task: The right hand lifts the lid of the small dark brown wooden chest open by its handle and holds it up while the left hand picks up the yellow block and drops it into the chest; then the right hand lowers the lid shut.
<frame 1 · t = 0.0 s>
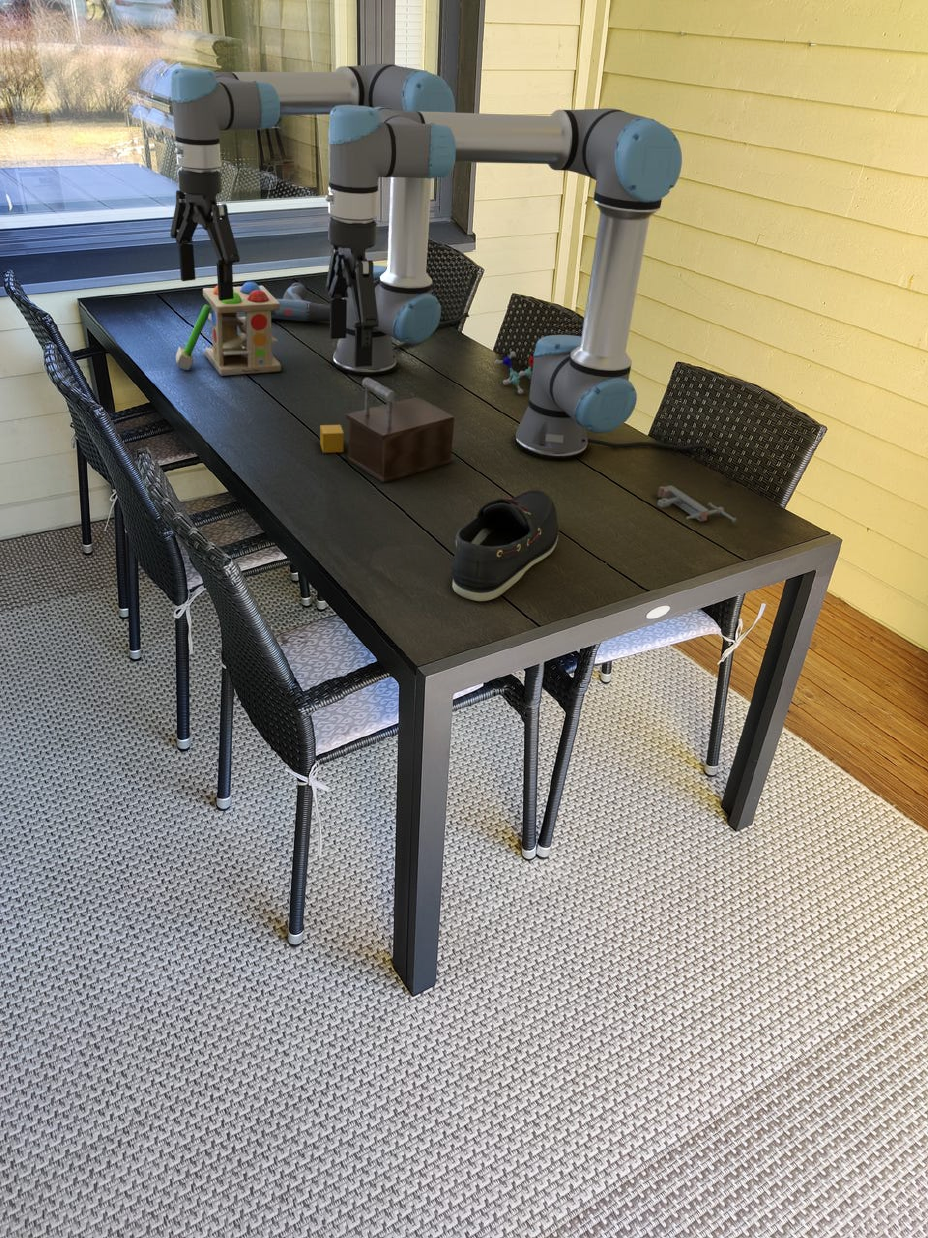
left hand: (206, 289, 186), 28 cm above the table, tool pointing down, fingers open, 13 cm apart
right hand: (350, 351, 164), 28 cm above the table, tool pointing down, fingers open, 13 cm apart
boat shoe: (505, 556, 168), on the table
clamp: (689, 512, 187), on the table
pounding bench toy: (225, 365, 230), on the table
molecular model: (515, 387, 234), on the table
block: (331, 448, 198), on the table
chest: (399, 461, 195), on the table
power drill: (305, 313, 267), on the table
lid: (401, 399, 188), point 13 cm above the table, hinge at -0.1°
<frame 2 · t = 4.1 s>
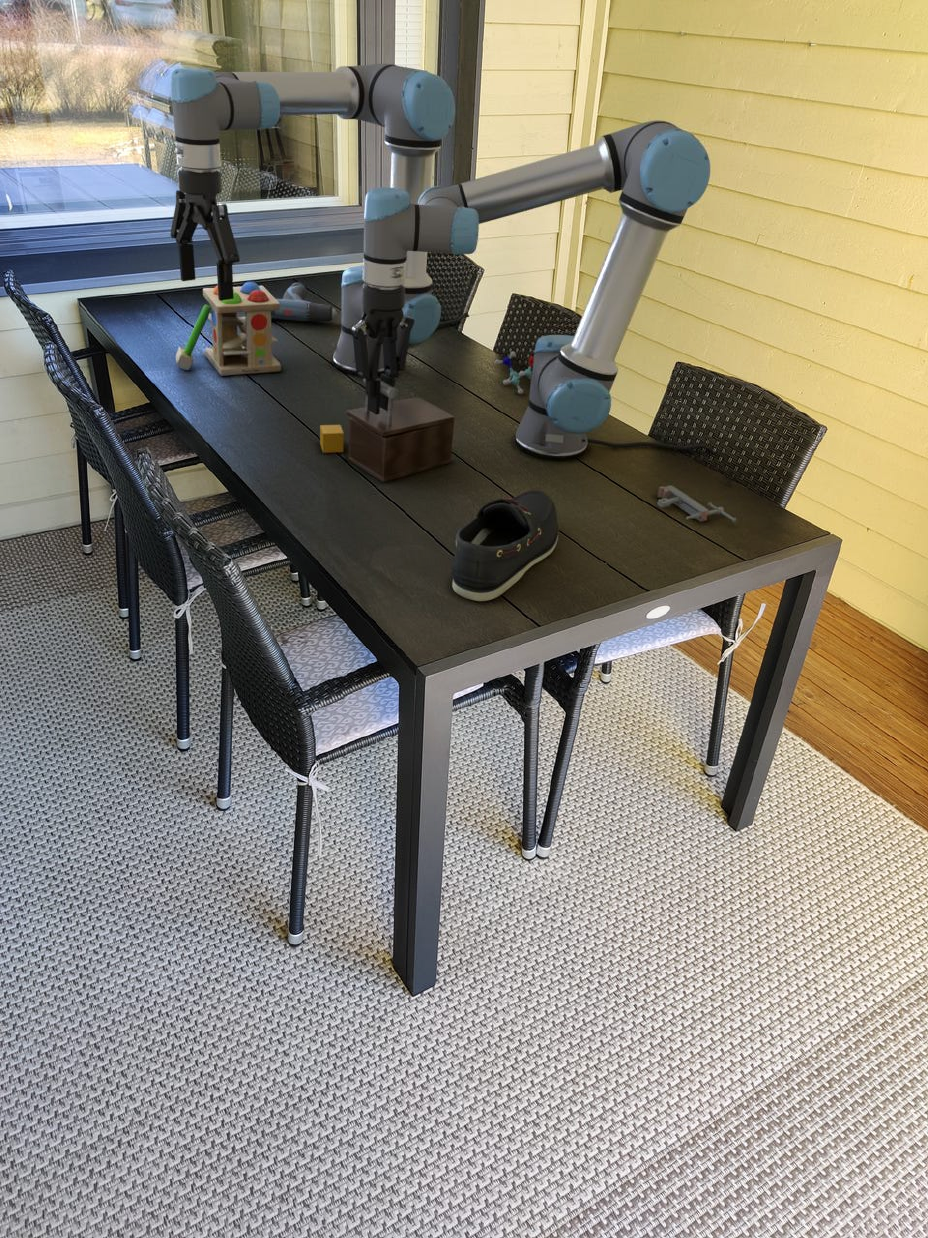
left hand: (206, 289, 186), 28 cm above the table, tool pointing down, fingers open, 13 cm apart
right hand: (379, 409, 185), 12 cm above the table, tool pointing down, fingers closed on lid, 2 cm apart
lid: (402, 397, 188), point 13 cm above the table, hinge at 2.1°, touching right hand
everything else where it was.
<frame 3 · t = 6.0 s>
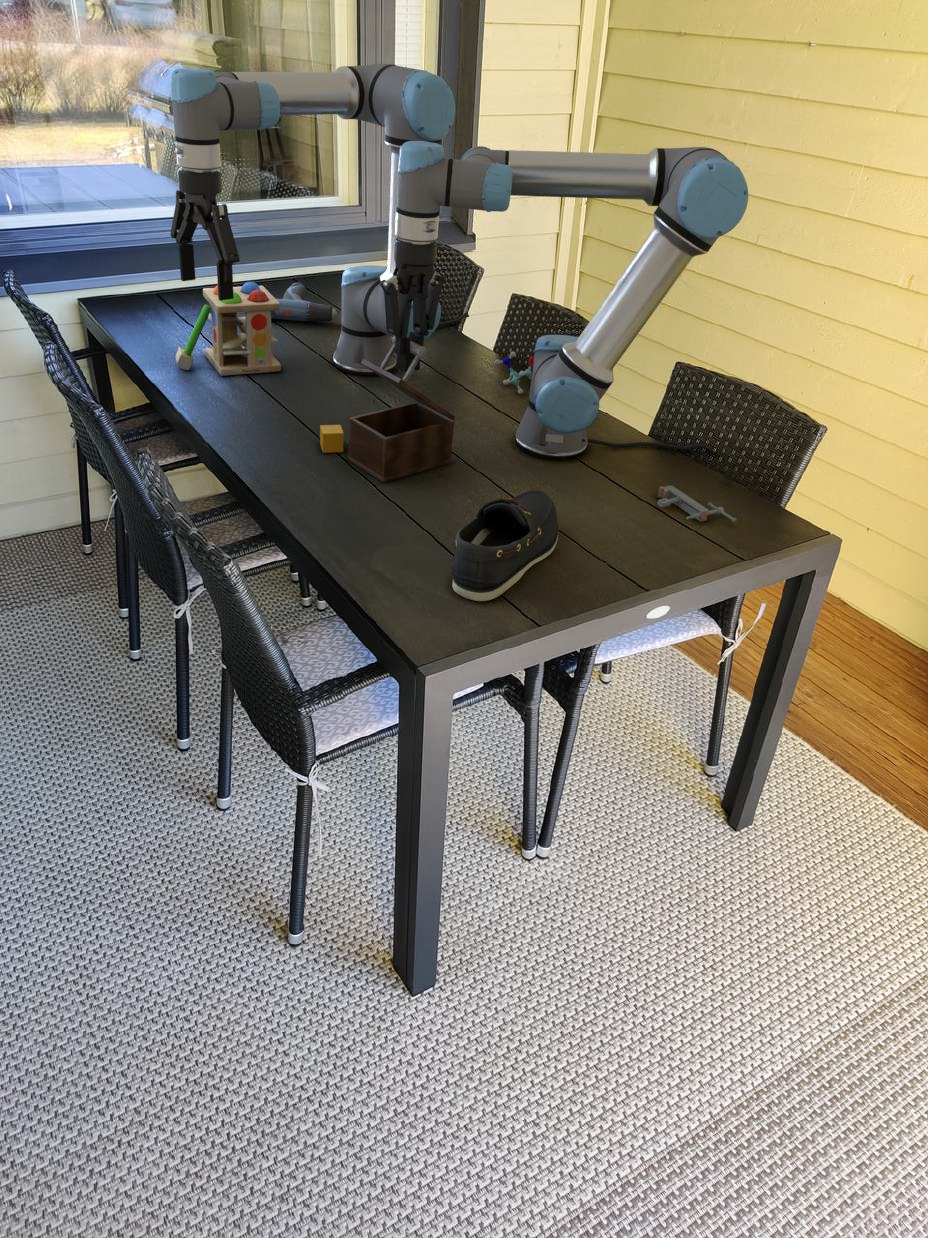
left hand: (206, 289, 186), 28 cm above the table, tool pointing down, fingers open, 13 cm apart
right hand: (407, 368, 185), 19 cm above the table, tool pointing down, fingers closed on lid, 2 cm apart
lid: (418, 373, 188), point 18 cm above the table, hinge at 36.1°, touching right hand
everything else where it was.
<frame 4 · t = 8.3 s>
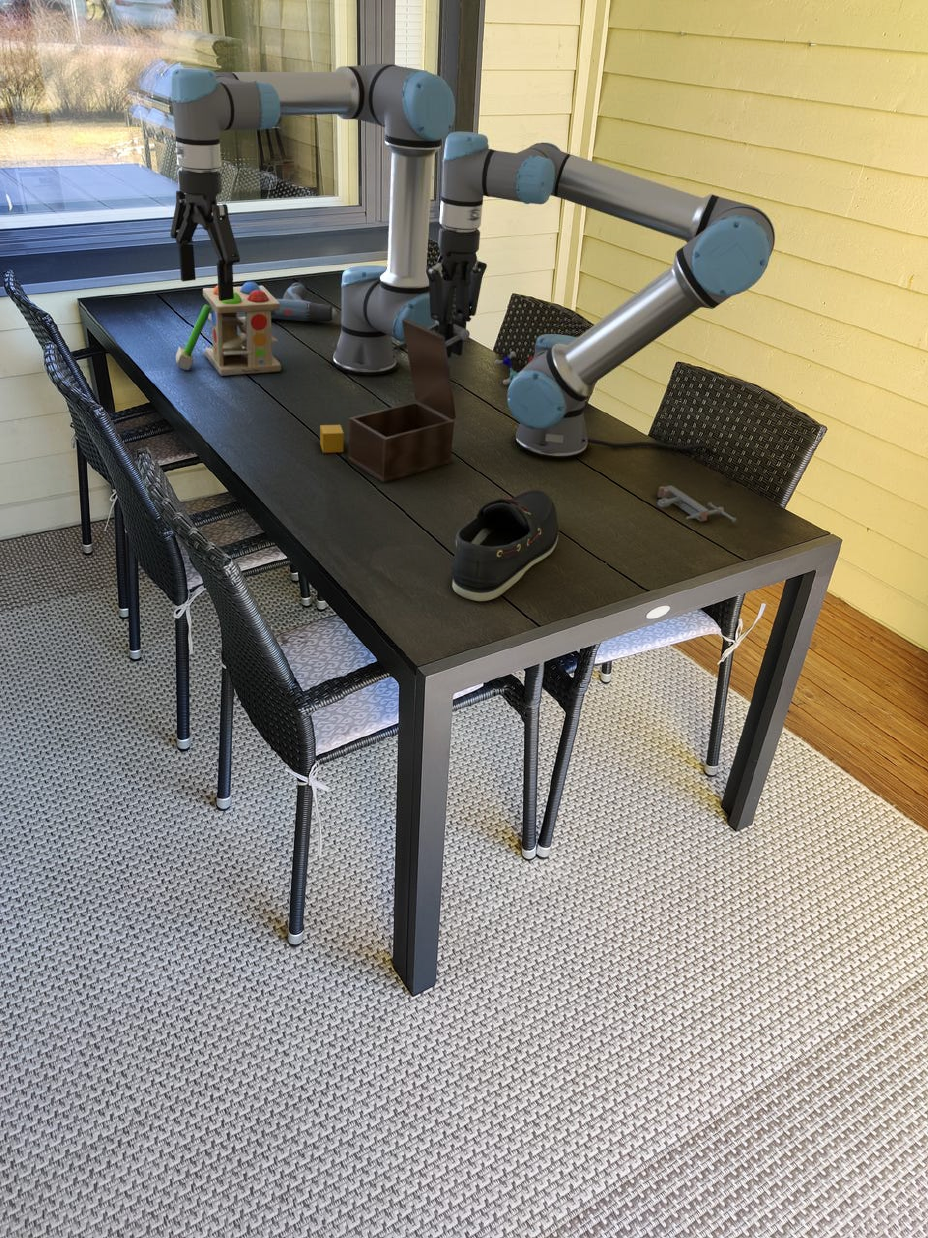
left hand: (207, 289, 186), 28 cm above the table, tool pointing down, fingers open, 13 cm apart
right hand: (450, 353, 191), 20 cm above the table, tool pointing down, fingers closed on lid, 2 cm apart
lid: (443, 361, 190), point 19 cm above the table, hinge at 74.8°, touching right hand
everything else where it was.
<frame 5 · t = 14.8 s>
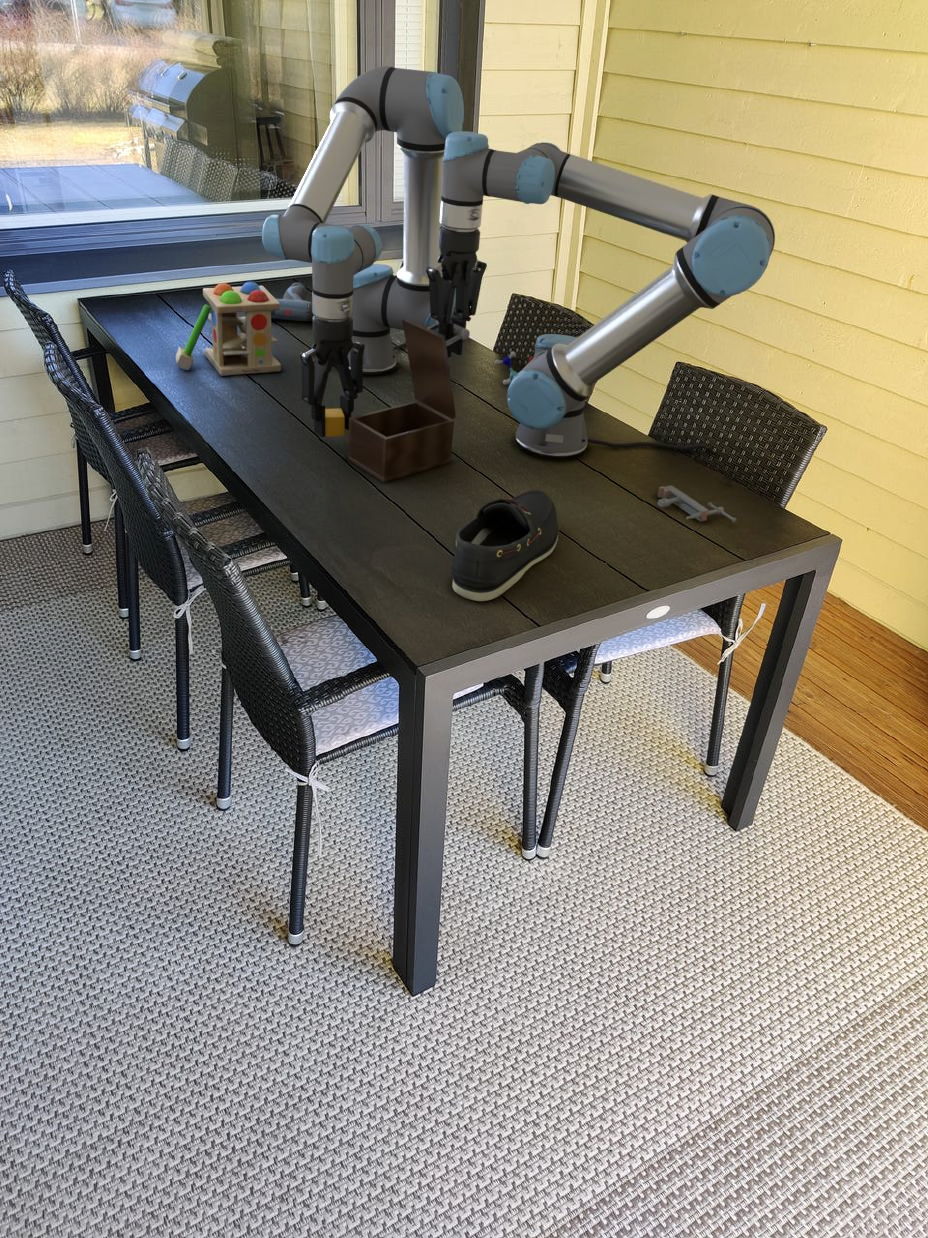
left hand: (332, 430, 196), 4 cm above the table, tool pointing down, fingers closed on block, 5 cm apart
right hand: (450, 353, 191), 20 cm above the table, tool pointing down, fingers closed on lid, 2 cm apart
block: (332, 432, 196), point 3 cm above the table, touching left hand
lid: (443, 361, 190), point 19 cm above the table, hinge at 75.0°, touching right hand
everything else where it was.
when the left hand's fingers open (15 cm above the table, at t = 17.6 s): block drops 13 cm, resting on chest.
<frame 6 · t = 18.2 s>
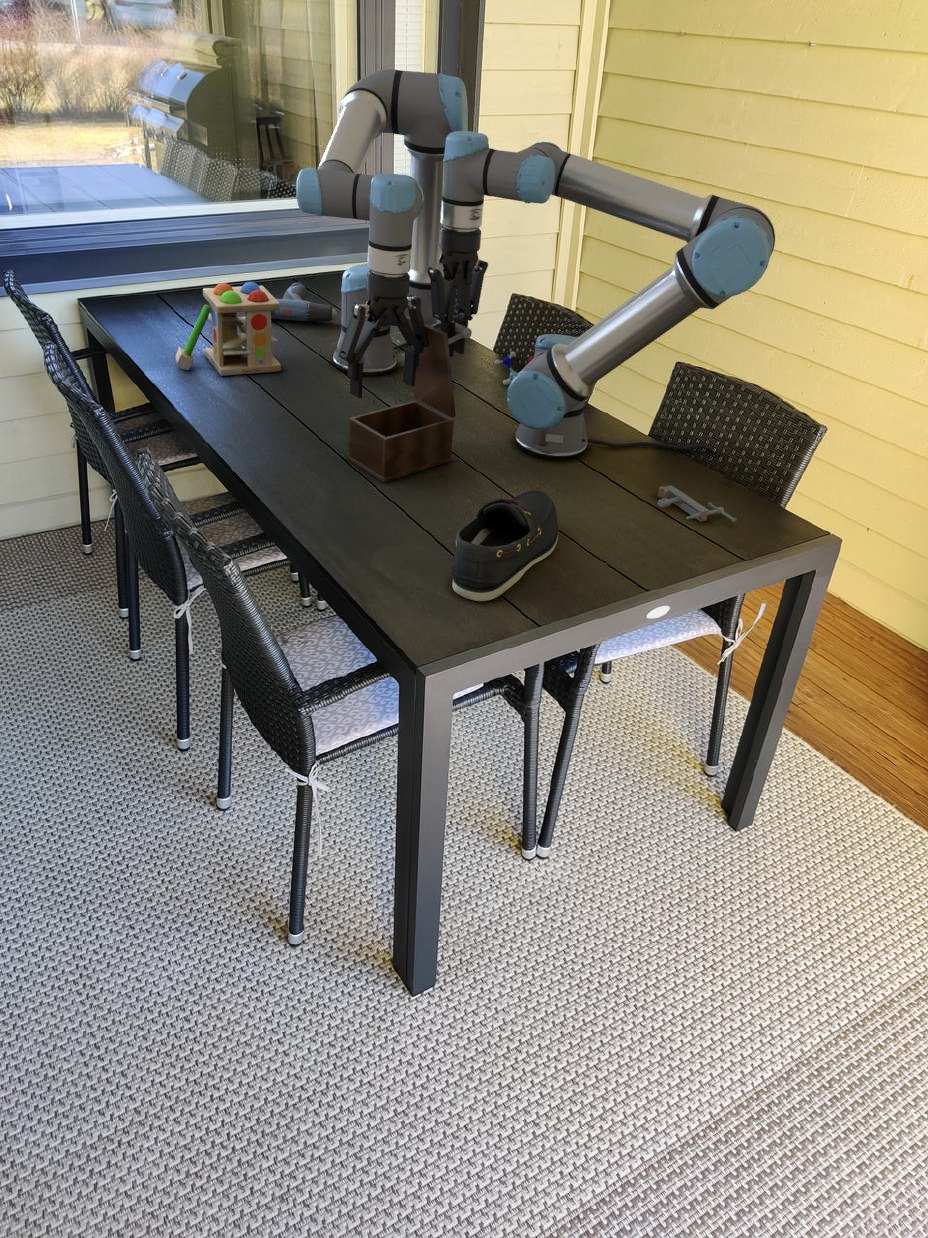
left hand: (382, 389, 184), 16 cm above the table, tool pointing down, fingers open, 12 cm apart
right hand: (452, 352, 191), 20 cm above the table, tool pointing down, fingers closed on lid, 2 cm apart
block: (383, 461, 193), point 1 cm above the table, touching chest
chest: (400, 460, 195), on the table, touching block
lid: (444, 360, 191), point 19 cm above the table, hinge at 78.1°, touching left hand, right hand
everything else where it was.
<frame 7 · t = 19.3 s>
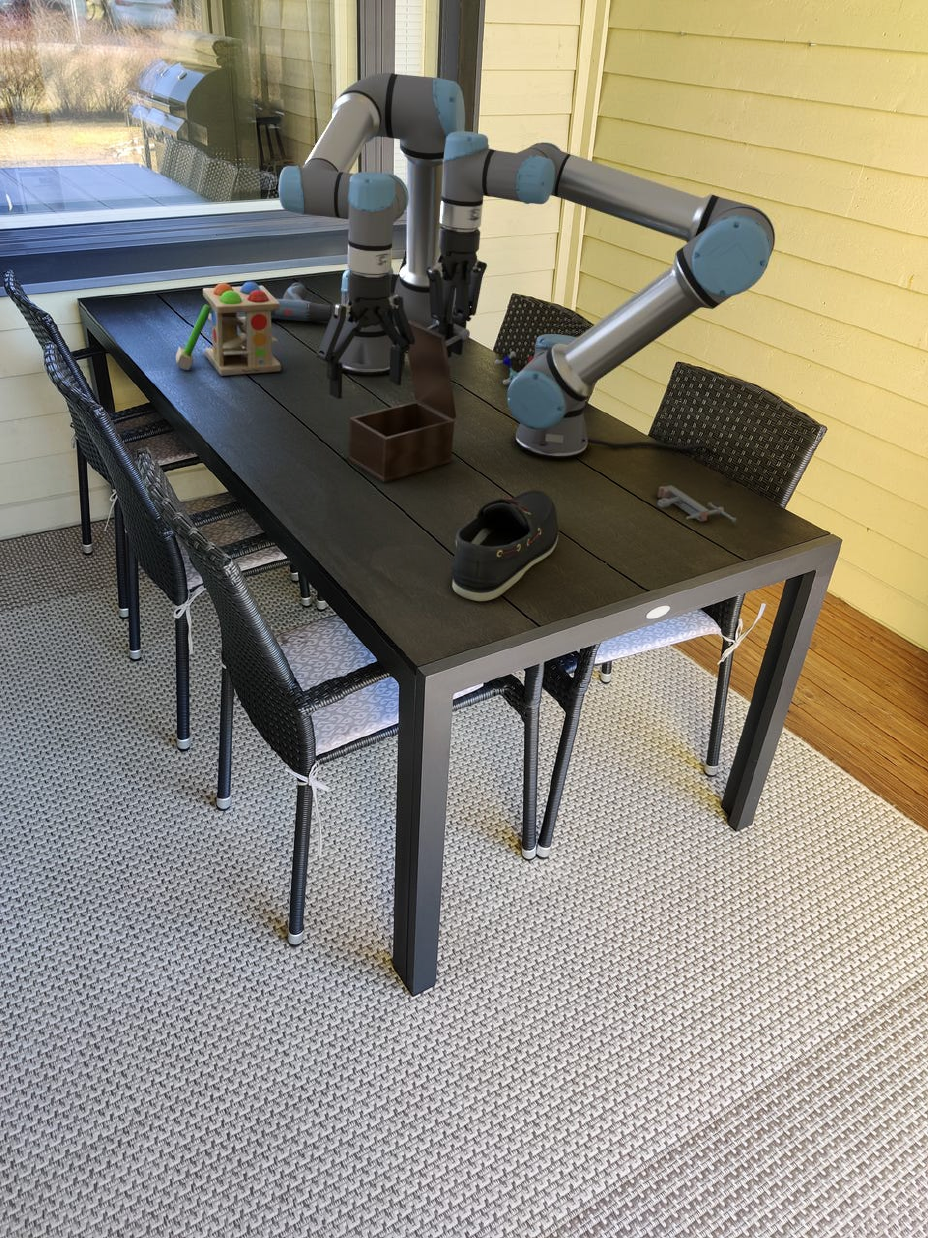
left hand: (366, 389, 181), 17 cm above the table, tool pointing down, fingers open, 13 cm apart
right hand: (450, 353, 191), 20 cm above the table, tool pointing down, fingers closed on lid, 2 cm apart
lid: (443, 361, 191), point 19 cm above the table, hinge at 74.9°, touching right hand
everything else where it was.
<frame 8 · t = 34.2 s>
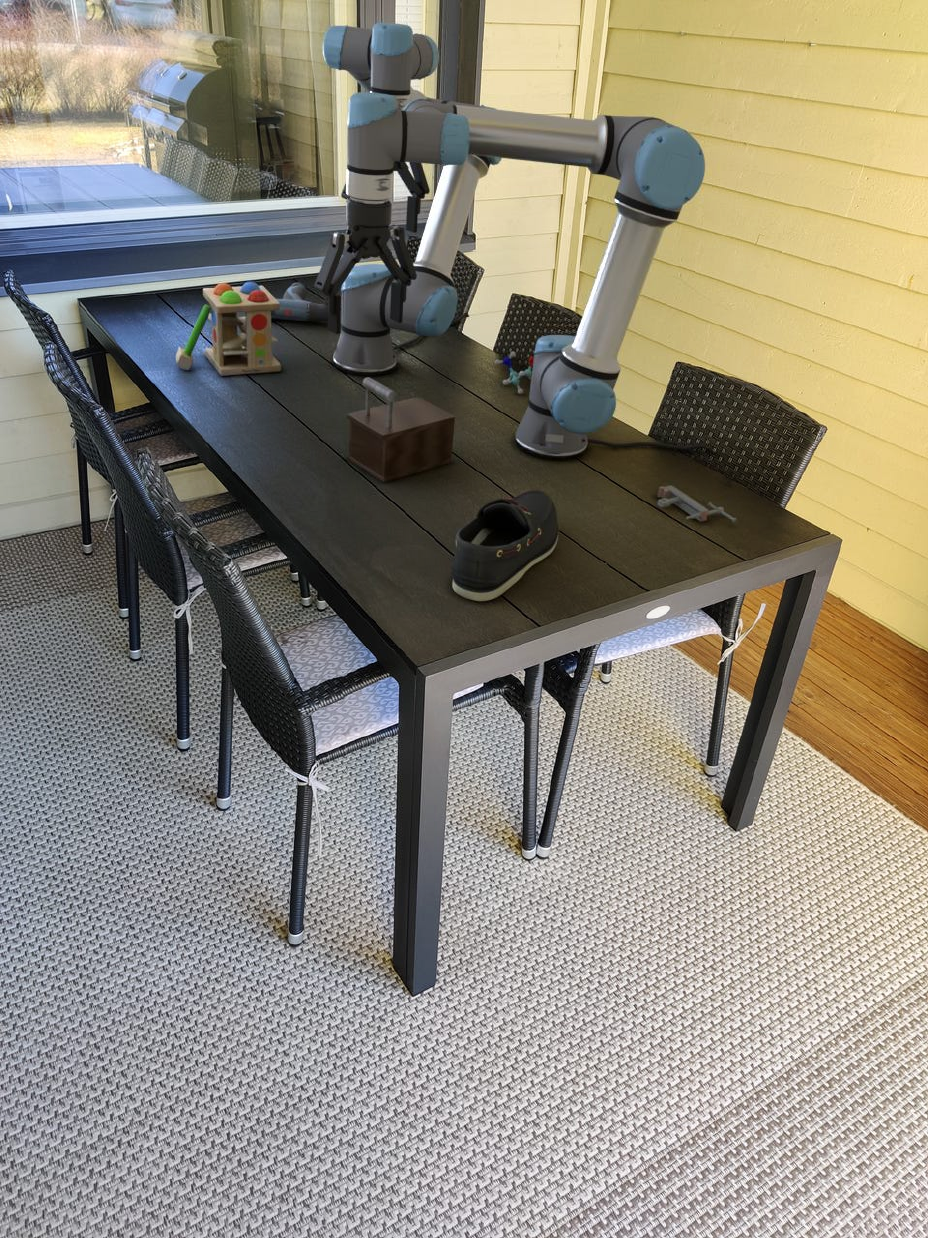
left hand: (385, 234, 199), 36 cm above the table, tool pointing down, fingers open, 13 cm apart
right hand: (365, 326, 174), 29 cm above the table, tool pointing down, fingers open, 13 cm apart
lid: (402, 399, 188), point 13 cm above the table, hinge at -0.1°
everything else where it was.
at the end: block inside the target area in the chest (4.3 cm from its centre), point 0.8 cm above the chest's base; lid at +0° (first picture: +0°); the left hand is holding nothing; the right hand is holding nothing; chest tilted 0°; chest moved 0.1 cm from its start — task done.
